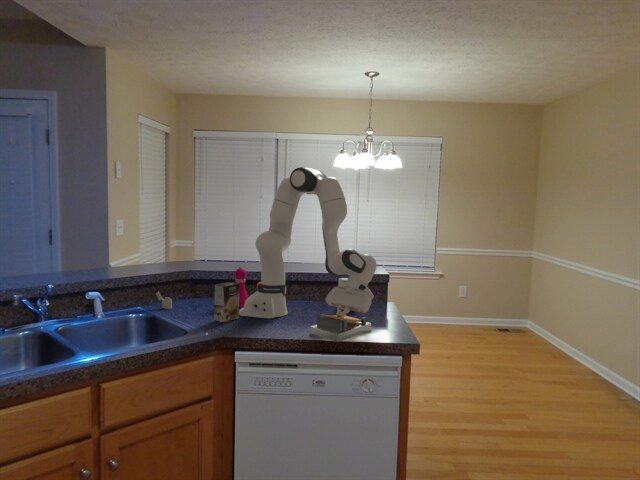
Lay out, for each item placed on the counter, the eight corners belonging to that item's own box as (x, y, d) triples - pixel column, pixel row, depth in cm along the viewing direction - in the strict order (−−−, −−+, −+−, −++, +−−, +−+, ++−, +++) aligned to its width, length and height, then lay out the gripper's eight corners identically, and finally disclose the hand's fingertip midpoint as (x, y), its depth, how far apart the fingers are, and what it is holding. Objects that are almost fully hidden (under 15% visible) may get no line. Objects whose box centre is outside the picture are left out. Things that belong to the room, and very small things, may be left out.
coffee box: (224, 323, 186) (225, 286, 184) (213, 321, 189) (214, 284, 187) (239, 319, 194) (239, 283, 192) (228, 316, 197) (228, 281, 195)
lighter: (172, 308, 209) (172, 291, 208) (171, 308, 207) (171, 292, 206) (156, 307, 208) (156, 291, 207) (155, 308, 206) (155, 292, 206)
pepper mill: (235, 308, 212) (235, 267, 210) (230, 304, 219) (231, 265, 217) (249, 306, 216) (250, 266, 214) (244, 303, 222) (245, 264, 220)
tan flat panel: (345, 317, 188) (345, 315, 188) (362, 322, 182) (363, 319, 182) (323, 317, 177) (323, 314, 177) (341, 322, 171) (341, 319, 171)
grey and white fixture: (344, 323, 192) (345, 307, 191) (370, 330, 183) (371, 313, 182) (310, 333, 176) (310, 316, 175) (337, 342, 166) (338, 323, 166)
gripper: (331, 281, 188) (316, 307, 182) (371, 288, 175) (356, 316, 168) (338, 289, 192) (323, 315, 186) (377, 297, 179) (362, 325, 172)
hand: (339, 316), depth 177 cm, fingers closed, pressing on tan flat panel
